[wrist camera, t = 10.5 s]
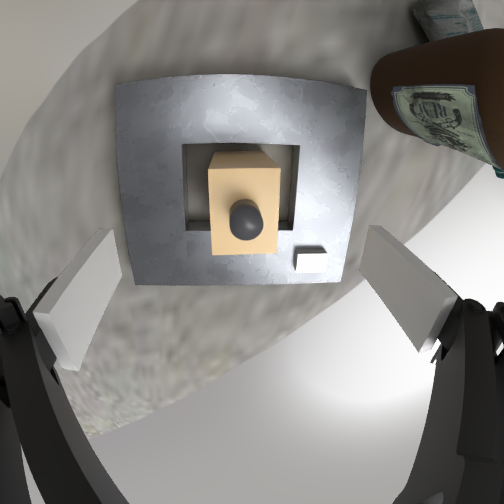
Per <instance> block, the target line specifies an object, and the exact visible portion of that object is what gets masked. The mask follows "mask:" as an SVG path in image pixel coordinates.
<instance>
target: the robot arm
mask: <svg viewBox="0 0 504 504" xmlns="http://www.w3.org/2000/svg"><path fill="white" fill-rule="evenodd" d="M359 271H360V272H361V273H362V275H363V276H364V277H365V278H366V280H367V281H368V282H369V284H370V285H371V286H372V288H373V289H374V290H375V291H376V293H377V294H378V295H379V297H380V298H381V299H382V301H383V302H384V304H385V305H386V306H387V308H388V309H389V311H390V312H391V313H392V315H393V316H394V317H395V319H396V320H397V322H398V323H399V325H400V326H401V327H402V329H403V330H404V332H405V333H406V335H407V336H408V337H409V339H410V340H411V342H412V343H413V345H414V346H415V348H416V349H417V351H418V352H422V351H426V350H430V349H432V347H433V345H434V343H435V342H436V340H437V338H438V339H439V341H440V342H441V345H440V346H439V348H438V350H437V352H436V353H435V355H434V356H433V358H432V360H431V363H433V362H434V360H435V359H437V362H436V369H435V376H434V383H433V389H432V394H431V400H430V405H429V410H428V414H427V419H426V423H425V427H424V431H423V435H422V438H421V442H420V445H419V449H418V452H417V456H416V459H415V462H414V465H413V468H412V471H411V473H410V476H409V479H408V482H407V484H406V486H405V488H404V489H403V491H402V492H401V493H400V494H399V495H398V497H397V498H396V499H395V501H394V502H393V504H504V348H503V350H502V351H501V352H500V354H499V355H498V356H497V354H496V351H497V349H498V348H499V346H500V345H501V343H502V342H503V344H504V303H503V302H498V303H496V305H495V307H494V309H493V311H486V309H485V308H484V306H483V305H482V304H480V303H479V302H478V301H475V300H473V299H465V300H462V298H461V297H460V296H459V295H458V294H457V293H456V292H455V291H454V290H453V289H452V288H451V287H450V286H449V285H447V284H446V282H445V281H443V280H441V278H440V277H439V276H438V275H437V274H436V273H435V272H434V271H432V270H431V269H430V268H429V267H427V265H425V264H424V263H423V262H422V261H421V260H420V259H419V258H418V257H417V256H415V255H414V254H413V253H412V252H411V251H410V250H409V249H408V248H406V247H405V246H404V245H403V244H402V243H401V242H400V241H398V240H397V239H396V238H395V237H394V236H392V235H391V234H390V233H389V232H388V231H387V230H385V229H384V228H383V227H382V226H374V225H369V228H368V233H367V238H366V242H365V247H364V251H363V256H362V260H361V264H360V269H359ZM121 277H122V273H121V268H120V264H119V259H118V254H117V249H116V244H115V238H114V233H113V228H107V229H99V230H98V231H97V232H96V233H95V234H94V236H93V237H92V238H91V239H90V240H89V241H88V242H87V243H86V244H85V246H84V247H83V248H82V249H81V250H80V251H79V253H78V254H77V255H76V256H75V257H74V258H73V260H72V261H71V262H70V263H69V264H68V266H67V267H66V268H65V269H64V271H63V272H62V273H61V274H60V276H59V277H56V278H55V279H53V280H52V281H51V282H49V283H48V284H47V285H46V287H45V288H44V289H43V291H42V292H41V293H40V295H39V296H38V298H37V299H36V300H35V301H34V303H33V304H32V305H31V307H30V308H29V310H28V311H27V312H26V314H25V313H24V311H23V309H22V306H21V304H20V302H19V300H18V298H16V297H8V298H5V299H3V298H2V297H1V296H0V504H31V500H30V495H29V491H28V487H27V483H26V477H25V472H24V466H23V459H22V452H21V446H22V449H23V452H24V455H25V457H26V460H27V463H28V465H29V468H30V470H31V473H32V475H33V478H34V480H35V482H36V485H37V487H38V489H39V491H40V493H41V495H42V498H43V500H44V502H45V504H129V503H128V502H127V500H126V499H125V497H124V496H123V495H122V493H121V492H120V491H119V489H118V488H117V486H116V485H115V484H114V482H113V481H112V479H111V478H110V476H109V475H108V473H107V472H106V470H105V469H104V467H103V466H102V464H101V462H100V461H99V459H98V457H97V456H96V454H95V452H94V451H93V449H92V447H91V445H90V443H89V442H88V440H87V438H86V436H85V434H84V432H83V430H82V428H81V426H80V424H79V422H78V420H77V418H76V416H75V414H74V412H73V410H72V408H71V405H70V403H69V401H68V399H67V396H66V394H65V392H64V389H63V387H62V384H61V382H60V379H59V376H58V374H57V371H56V370H55V368H54V366H53V365H54V363H55V361H56V359H57V360H58V362H59V364H60V365H61V367H62V368H63V369H66V370H71V371H77V372H79V370H80V367H81V365H82V362H83V360H84V357H85V355H86V352H87V350H88V347H89V345H90V343H91V340H92V338H93V336H94V333H95V331H96V329H97V327H98V324H99V322H100V320H101V318H102V316H103V314H104V311H105V309H106V307H107V305H108V303H109V301H110V299H111V297H112V295H113V293H114V291H115V289H116V287H117V285H118V283H119V281H120V279H121Z"/></svg>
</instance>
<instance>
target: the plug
mask: <svg viewBox="0 0 504 504" xmlns="http://www.w3.org/2000/svg"><path fill="white" fill-rule="evenodd" d="M280 170H281V168H280V167H279V166H278V165H277V164H276V163H275V162H274V161H273V160H272V159H271V158H270V157H269V156H268V155H267V154H266V153H265V152H264V151H224V152H214V155H213V157H212V160H211V163H210V165H209V168H208V181H209V205H210V224H211V242H212V255H239V254H270V253H277V238H278V218H279V196H280Z"/></svg>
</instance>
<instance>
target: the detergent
mask: <svg viewBox="0 0 504 504" xmlns="http://www.w3.org/2000/svg"><path fill="white" fill-rule="evenodd" d="M412 11H413V14H414V16H415V17H416V19H417V20H418V22H419V23H420V25H421V27H422V28H423V30H424V32H425V34H426V35H427V37H428V39H429V41H430V42H432V41H436V40H440V39H444V38H448V37H452V36H456V35H461V34H465V33H470V32H475V31H480V30H484V29H483V27H482V24H481V21H480V19H479V16H478V14H477V11H476V9H475V7H474V4H473V2H472V0H418V1H417V2H416V3H415V4H414V5H413V8H412ZM493 169H494V170H495V173H496V176H497V177H499V178H502V179H504V171H503V170H501V169H499V168H497V167H494V166H493Z"/></svg>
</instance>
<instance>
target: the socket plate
mask: <svg viewBox="0 0 504 504" xmlns="http://www.w3.org/2000/svg"><path fill="white" fill-rule="evenodd" d="M366 97H367V90H364V89H359V88H354V87H349V86H344V85H339V84H333V83H327V82H321V81H314V80H307V79H298V78H289V77H278V76H264V75H238V74H214V75H189V76H175V77H164V78H155V79H147V80H139V81H133V82H126V83H121V84H115V131H116V151H117V166H118V177H119V187H120V196H121V205H122V212H123V219H124V226H125V233H126V239H127V245H128V250H129V256H130V261H131V266H132V271H133V276H134V281H135V285H262V284H296V283H322V282H340V280H341V276H342V271H343V267H344V262H345V257H346V252H347V247H348V242H349V237H350V232H351V226H352V220H353V215H354V208H355V202H356V196H357V189H358V182H359V174H360V166H361V158H362V148H363V138H364V127H365V114H366ZM194 143H264V144H286V145H293V160H292V174H291V188H290V201H289V213H288V221H278V238H277V253H270V254H239V255H212V242H211V224H210V221H189V215H188V194H187V165H186V144H194Z"/></svg>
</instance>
